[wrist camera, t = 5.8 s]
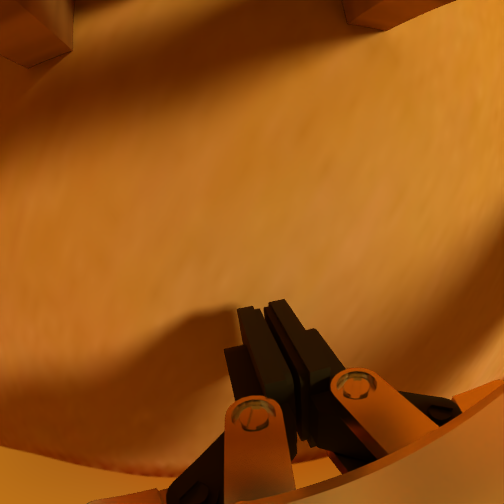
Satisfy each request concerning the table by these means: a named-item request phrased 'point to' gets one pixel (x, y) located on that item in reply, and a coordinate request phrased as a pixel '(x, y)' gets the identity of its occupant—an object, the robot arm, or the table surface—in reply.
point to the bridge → (62, 11)
